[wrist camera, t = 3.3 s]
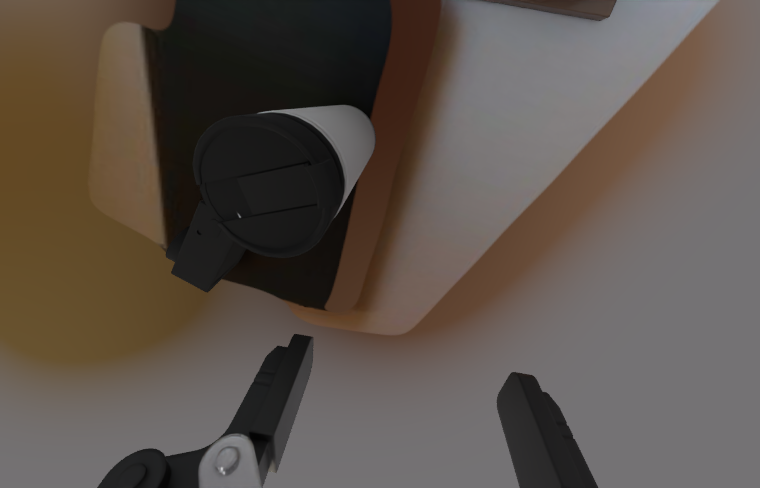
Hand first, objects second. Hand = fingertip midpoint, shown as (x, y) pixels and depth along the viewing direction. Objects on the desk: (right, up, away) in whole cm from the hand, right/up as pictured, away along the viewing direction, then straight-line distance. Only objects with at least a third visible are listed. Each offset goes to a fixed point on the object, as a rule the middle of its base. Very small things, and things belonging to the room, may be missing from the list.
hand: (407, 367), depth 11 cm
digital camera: (-19, +8, +23) cm, 31 cm away
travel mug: (-4, +16, +18) cm, 24 cm away
